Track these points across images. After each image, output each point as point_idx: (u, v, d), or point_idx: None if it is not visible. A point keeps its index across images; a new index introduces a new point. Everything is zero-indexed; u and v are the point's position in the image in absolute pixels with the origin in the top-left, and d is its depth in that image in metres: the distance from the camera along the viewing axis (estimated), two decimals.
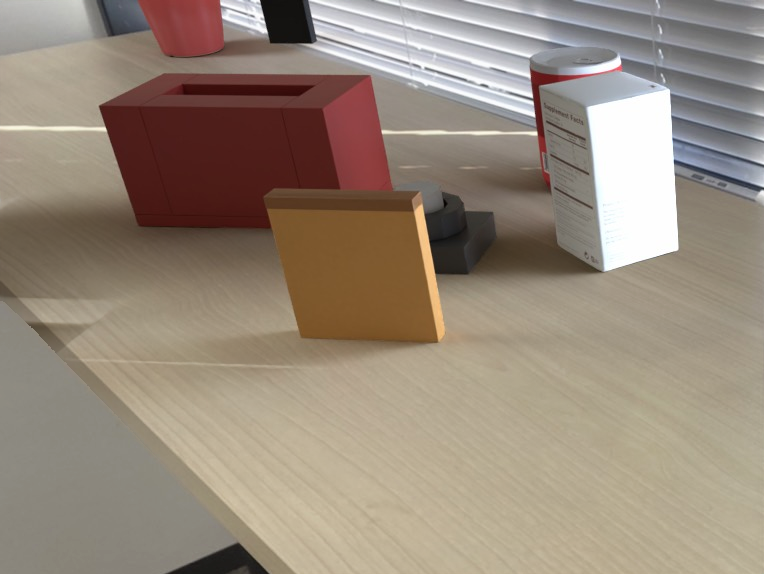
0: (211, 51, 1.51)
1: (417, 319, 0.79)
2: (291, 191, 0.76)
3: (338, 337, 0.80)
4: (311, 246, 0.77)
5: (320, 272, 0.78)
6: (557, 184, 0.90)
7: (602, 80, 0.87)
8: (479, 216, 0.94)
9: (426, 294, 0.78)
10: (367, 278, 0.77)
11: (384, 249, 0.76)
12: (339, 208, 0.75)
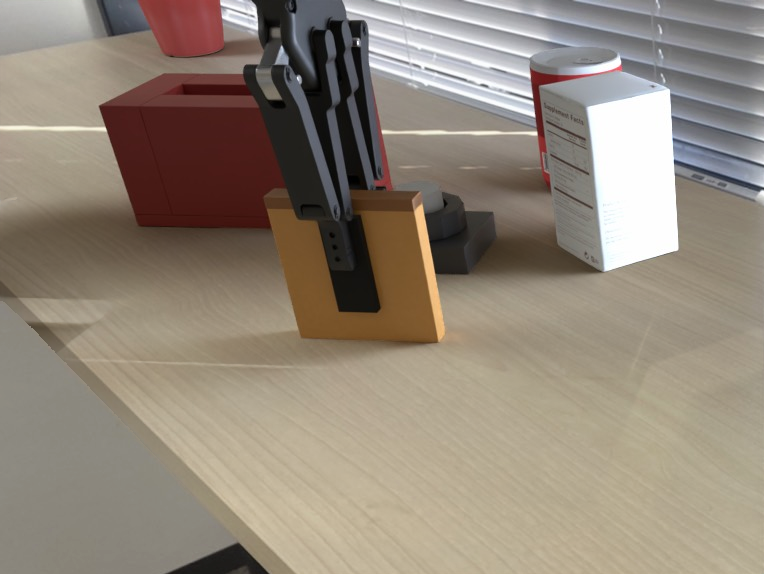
0: (211, 51, 1.51)
1: (417, 319, 0.79)
2: None
3: (338, 338, 0.80)
4: (311, 246, 0.77)
5: (319, 272, 0.78)
6: (557, 184, 0.90)
7: (602, 80, 0.87)
8: (479, 216, 0.94)
9: (426, 294, 0.78)
10: None
11: (384, 249, 0.76)
12: None
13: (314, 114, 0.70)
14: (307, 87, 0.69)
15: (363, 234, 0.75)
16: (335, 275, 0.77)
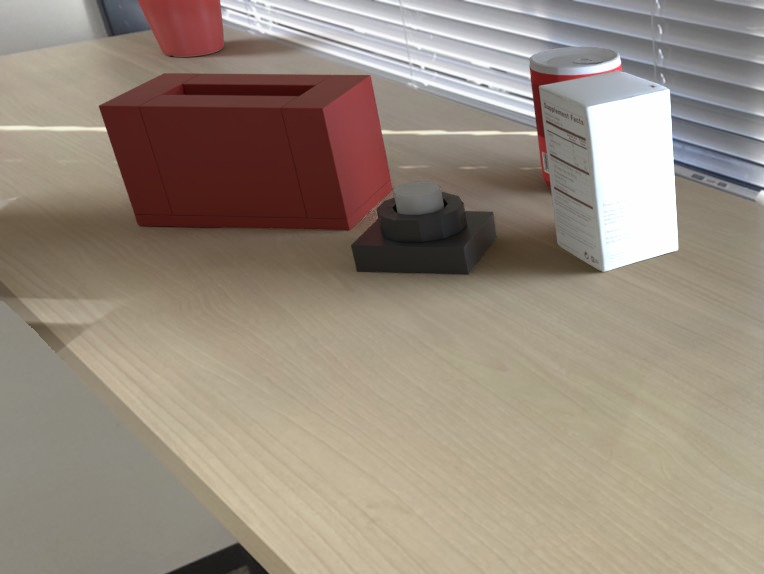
0: (211, 51, 1.51)
1: None
2: None
3: None
4: None
5: None
6: (557, 184, 0.90)
7: (602, 80, 0.87)
8: (479, 216, 0.94)
9: None
10: None
11: None
12: None
13: None
14: None
15: None
16: None
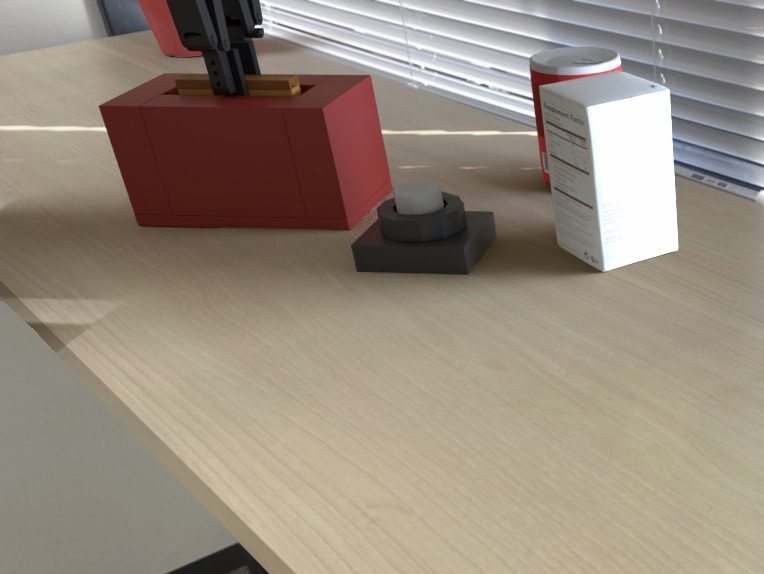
0: None
1: None
2: (197, 75, 0.97)
3: None
4: None
5: None
6: (557, 184, 0.90)
7: (602, 80, 0.87)
8: (479, 216, 0.94)
9: None
10: None
11: None
12: None
13: None
14: None
15: (240, 65, 0.94)
16: None
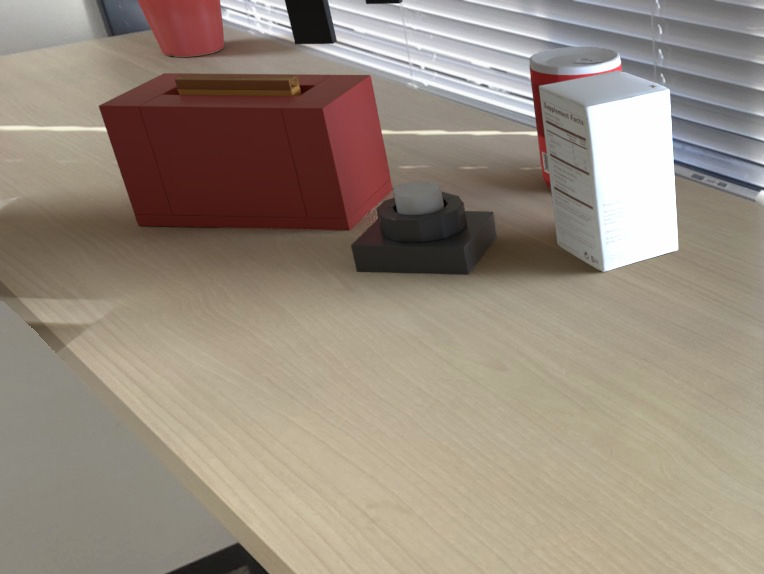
0: (211, 51, 1.51)
1: None
2: (197, 75, 0.97)
3: None
4: None
5: None
6: (557, 184, 0.90)
7: (602, 80, 0.87)
8: (479, 216, 0.94)
9: None
10: None
11: None
12: (233, 88, 0.96)
13: None
14: None
15: None
16: (290, 2, 0.78)
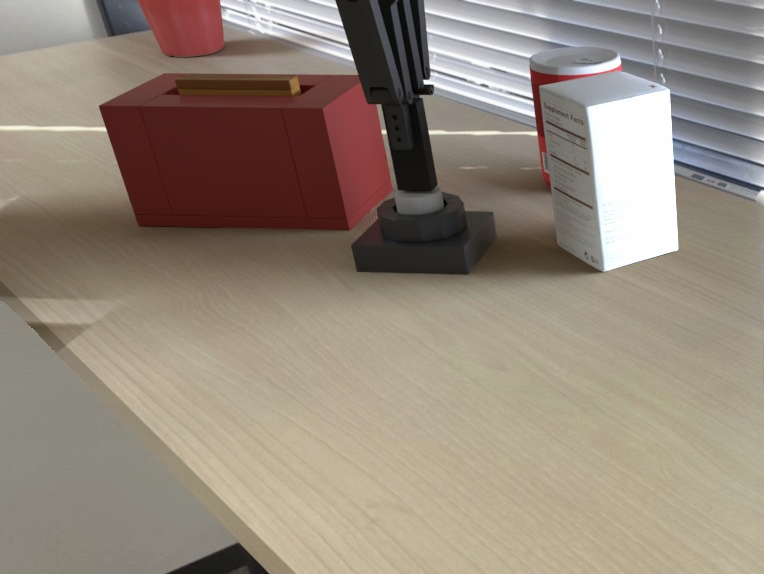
0: (211, 51, 1.51)
1: None
2: (197, 75, 0.97)
3: None
4: None
5: None
6: (557, 184, 0.90)
7: (602, 80, 0.87)
8: (479, 216, 0.94)
9: None
10: None
11: None
12: (233, 88, 0.96)
13: (380, 8, 0.81)
14: None
15: (421, 118, 0.86)
16: (396, 156, 0.88)
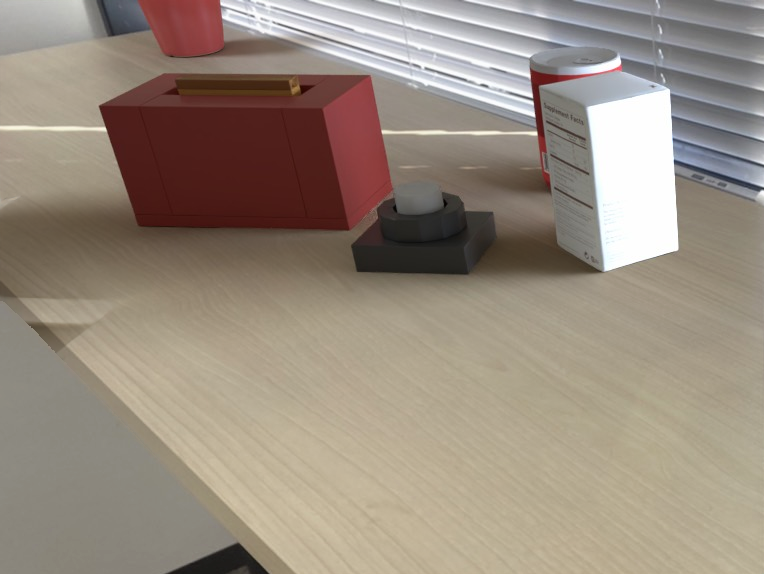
0: (211, 51, 1.51)
1: None
2: (197, 75, 0.97)
3: None
4: None
5: None
6: (557, 184, 0.90)
7: (602, 80, 0.87)
8: (479, 216, 0.94)
9: None
10: None
11: None
12: (233, 88, 0.96)
13: None
14: None
15: None
16: None
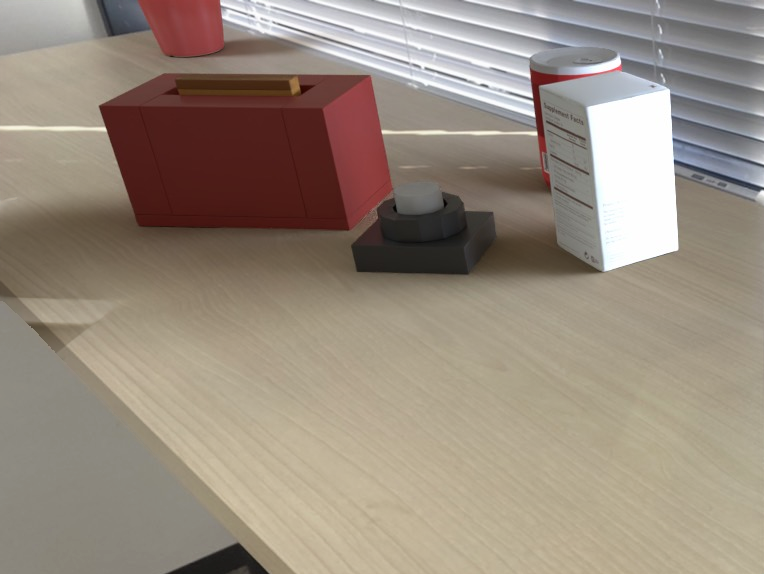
0: (211, 51, 1.51)
1: None
2: (197, 75, 0.97)
3: None
4: None
5: None
6: (557, 184, 0.90)
7: (602, 80, 0.87)
8: (479, 216, 0.94)
9: None
10: None
11: None
12: (233, 88, 0.96)
13: None
14: None
15: None
16: None
